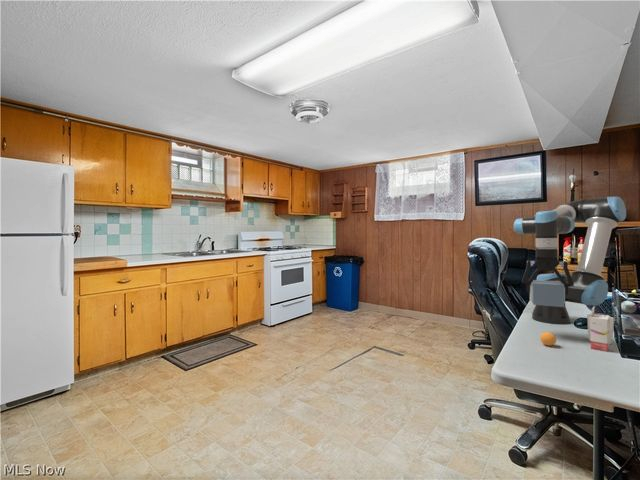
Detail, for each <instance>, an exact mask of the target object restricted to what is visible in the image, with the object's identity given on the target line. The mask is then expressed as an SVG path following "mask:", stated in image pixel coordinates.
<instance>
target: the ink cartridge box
mask: <svg viewBox="0 0 640 480" xmlns="http://www.w3.org/2000/svg"><path fill="white" fill-rule="evenodd" d="M595 309H596V306H594V305H593V307H592V308H591V312H590V314H591V341H590V349H594V350H597V351H598V350H599V351H601V352H602V351H603V352H608V350H609V347H610V344H609V324H610V317H611V316H610V315H608V314H600V313H595Z"/></svg>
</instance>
